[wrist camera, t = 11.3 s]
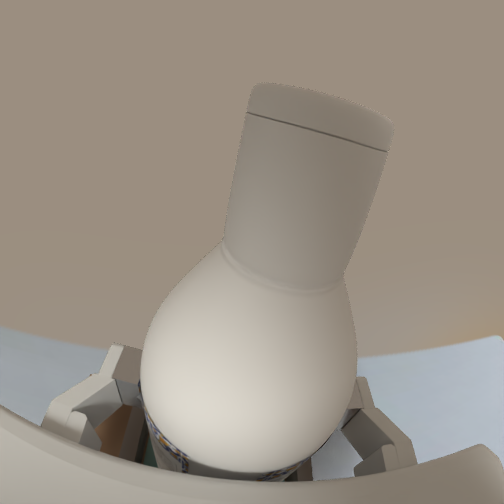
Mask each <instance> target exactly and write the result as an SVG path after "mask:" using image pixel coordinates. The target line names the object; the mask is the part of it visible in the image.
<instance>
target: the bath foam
mask: <svg viewBox="0 0 504 504" xmlns="http://www.w3.org/2000/svg"><path fill="white" fill-rule="evenodd" d="M393 133H394V124H393V122H392V121H391V120H390V119H389V118H388V117H386V116H384V115H383V114H381V113H378V112H376V111H374V110H372V109H370V108H367V107H365V106H362V105H360V104H357V103H354V102H351V101H348V100H345V99H342V98H339V97H336V96H333V95H329V94H325V93H322V92H317V91H313V90H310V89H305V88H300V87H295V86H289V85H283V84H276V83H258V84H256V85H255V86H254V87H253V89H252V91H251V94H250V98H249V102H248V106H247V112H246V116H245V121H244V126H243V131H242V135H241V141H240V145H239V150H238V155H237V160H236V165H235V171H234V176H233V181H232V187H231V192H230V198H229V204H228V209H227V215H226V222H225V230H224V237H223V239H222V241H221V242H220V243H219V244H218V245H217V246H215V247H214V248H213V249H212V250H211V251H210V252H209V253H208V254H207V255H206V256H205V257H204V258H203V259H202V260H201V261H199V262H198V263H197V264H196V265H195V266H194V267H193V268H192V269H191V270H190V271H189V272H188V273H187V274H186V275H185V276H184V277H183V278H182V279H181V280H180V281H179V282H178V284H177V285H176V286H175V287H174V288H173V289H172V291H171V292H170V293H169V294H168V296H167V297H166V298H165V300H164V301H163V303H162V304H161V306H160V307H159V309H158V311H157V312H156V314H155V316H154V319H153V321H152V323H151V325H150V327H149V330H148V333H147V336H146V339H145V342H144V347H143V352H142V358H141V367H140V390H141V396H142V401H143V406H144V411H145V416H146V421H147V425H148V430H149V434H150V438H151V442H152V446H153V450H154V454H155V458H156V462H157V465H158V468H160V469H164V470H169V471H174V472H180V473H185V474H191V475H198V476H204V477H212V478H221V479H231V480H244V481H264V482H282V481H283V480H284V479H285V478H287V477H288V476H289V475H290V474H291V473H293V472H294V471H295V470H296V469H297V468H299V467H300V466H301V465H302V464H303V463H304V462H306V461H307V460H308V459H309V458H310V457H311V456H312V455H313V454H315V453H316V452H317V451H318V450H319V449H320V448H321V447H322V446H323V445H324V444H325V443H326V442H327V440H328V439H329V438H330V436H331V435H332V433H333V432H334V430H335V429H336V427H337V426H338V424H339V422H340V420H341V419H342V417H343V415H344V413H345V411H346V409H347V406H348V404H349V401H350V398H351V395H352V392H353V389H354V384H355V379H356V373H357V341H356V333H355V327H354V321H353V317H352V311H351V306H350V302H349V297H348V293H347V289H346V284H345V281H344V271H345V269H346V267H347V265H348V263H349V261H350V259H351V256H352V254H353V252H354V249H355V247H356V244H357V242H358V239H359V237H360V234H361V232H362V229H363V226H364V224H365V221H366V218H367V216H368V213H369V210H370V207H371V204H372V202H373V199H374V196H375V193H376V190H377V187H378V184H379V181H380V178H381V175H382V171H383V169H384V165H385V162H386V159H387V156H388V152H387V151H389V149H390V145H391V142H392V138H393Z"/></svg>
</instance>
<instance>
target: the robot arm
mask: <svg viewBox="0 0 504 504" xmlns="http://www.w3.org/2000/svg"><path fill="white" fill-rule="evenodd" d="M142 352H143V350H140V349H136V348H132V347H129V346H125V345H121V344H118V343H113V344H112V345H111V347H110V349H109V351H108V353H107V355H106V358H105V360H104V362H103V364H102V367H101V369H100V371H99V373H98V374H96V373H94V374H93V375H91V376H90V377H88V378H86V379H85V380H83V381H82V382H80V383H79V384H77V385H75V386H74V387H72V388H71V389H69V390H67V391H66V392H64V393H63V394H61V395H59V396H58V397H56V398H55V399H53V400H52V401H51V404H50V406H49V408H48V410H47V412H46V415H45V417H44V419H43V422H42V424H41V426H38V425H36V424H34V423H32V422H30V421H28V420H26V419H25V418H23V417H21V416H19V415H17V414H16V413H14V412H12V411H10V410H9V409H7V408H5V407H4V406H2V405H0V504H504V470H503V467H502V464H501V461H500V459H499V458H498V457H497V456H496V455H495V454H494V453H493V452H492V451H491V450H490V449H489V448H488V447H486V446H485V445H483V444H477V445H474V446H472V447H469V448H466V449H464V450H461V451H458V452H456V453H453V454H450V455H447V456H444V457H441V458H437V459H434V460H431V461H427V462H424V463H420V464H418V463H417V460H416V456H415V452H414V449H413V445H412V442H411V440H410V439H409V438H408V437H407V436H406V435H405V434H404V433H403V432H402V431H401V430H400V429H399V428H398V427H397V426H396V425H395V424H394V423H393V422H392V421H391V420H390V419H389V418H388V417H387V416H386V415H385V414H384V413H383V412H382V411H380V410H379V409H378V408H375V406H374V403H373V399H372V396H371V392H370V389H369V386H368V382H367V379H366V378H365V377H356V379H355V384H354V389H353V392H352V395H351V398H350V401H349V404H348V406H347V409H346V411H345V413H344V415H343V417H342V419H341V420H340V422H339V424H338V426H337V427H336V429H335V430H341V429H342V430H341V431H342V433H343V434H344V435H345V437H346V438H347V439H348V441H349V442H350V443H351V444H352V446H353V447H354V448H355V450H356V451H357V452H358V454H359V455H360V456H361V458H362V459H363V461H362V462H360V463H359V464H357V465H356V466H355V467H354V474H355V477H349V478H340V479H330V480H318V481H297V482H264V481H244V480H231V479H221V478H212V477H204V476H198V475H191V474H185V473H180V472H174V471H169V470H164V469H160V468H155V467H151V466H147V465H143V464H139V463H135V462H132V461H128V460H125V459H121V458H118V457H115V456H112V455H109V454H106V453H103V452H100V448H101V445H102V441H101V440H100V438H99V436H98V435H97V433H96V432H95V430H94V429H95V428H96V427H98V426H99V425H100V424H101V423H102V422H103V421H105V420H106V419H107V418H108V417H109V416H110V415H112V414H113V413H114V412H115V411H116V410H117V409H118V408H120V407H121V406H122V404H125V405H129V406H133V407H138V408H142V409H143V401H142V396H141V390H140V367H141V358H142Z"/></svg>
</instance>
